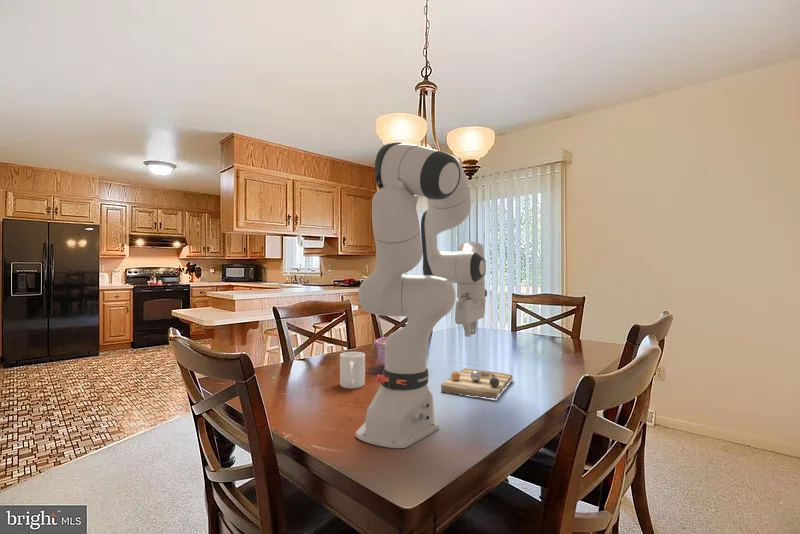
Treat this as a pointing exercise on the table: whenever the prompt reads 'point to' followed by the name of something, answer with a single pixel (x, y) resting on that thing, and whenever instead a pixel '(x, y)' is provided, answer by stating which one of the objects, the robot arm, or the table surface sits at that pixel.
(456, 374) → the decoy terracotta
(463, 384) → the board
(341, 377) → the mug
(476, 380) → the ball
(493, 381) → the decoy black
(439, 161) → the robot arm
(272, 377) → the table surface
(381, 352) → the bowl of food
